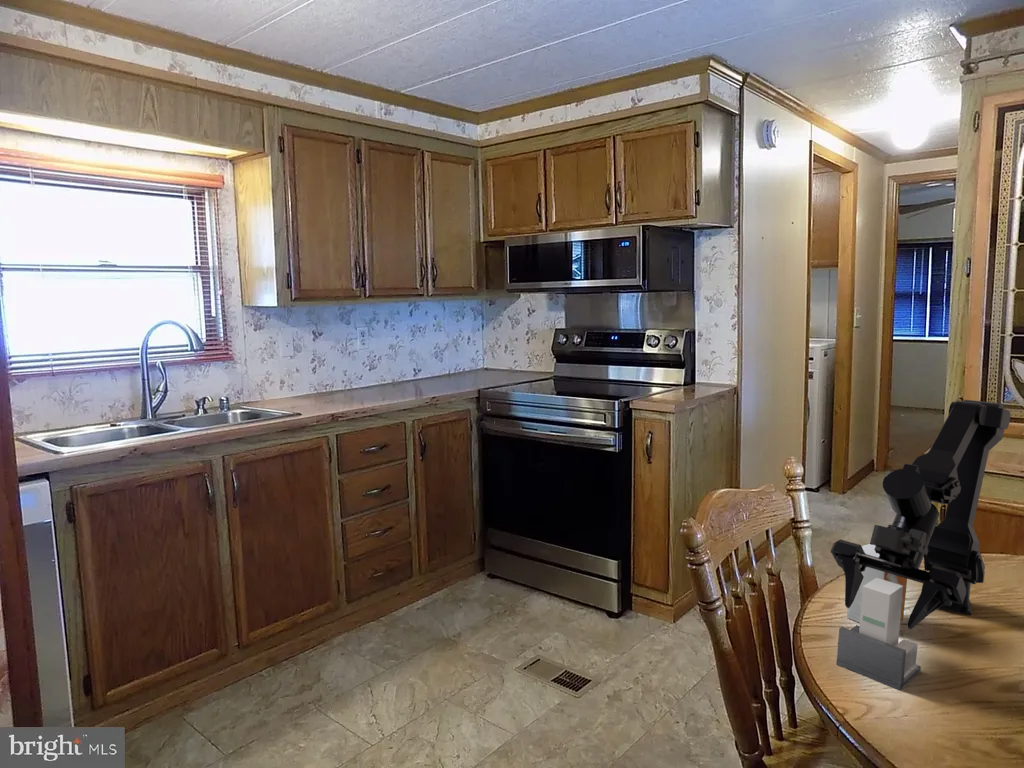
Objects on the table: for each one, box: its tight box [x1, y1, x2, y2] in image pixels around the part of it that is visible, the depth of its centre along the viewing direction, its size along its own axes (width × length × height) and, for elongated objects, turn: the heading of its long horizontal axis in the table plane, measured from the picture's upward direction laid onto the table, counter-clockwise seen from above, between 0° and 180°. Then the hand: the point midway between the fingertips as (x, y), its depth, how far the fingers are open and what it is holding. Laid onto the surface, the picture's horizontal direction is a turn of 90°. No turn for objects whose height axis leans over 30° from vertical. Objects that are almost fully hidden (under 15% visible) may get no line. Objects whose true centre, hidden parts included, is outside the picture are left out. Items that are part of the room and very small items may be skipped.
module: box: [859, 578, 903, 646], centre depth 110 cm, size 5×4×12 cm
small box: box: [846, 543, 908, 624], centre depth 126 cm, size 8×6×13 cm
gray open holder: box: [836, 624, 922, 691], centre depth 111 cm, size 8×10×6 cm
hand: (876, 617), depth 109 cm, fingers open, 9 cm apart
